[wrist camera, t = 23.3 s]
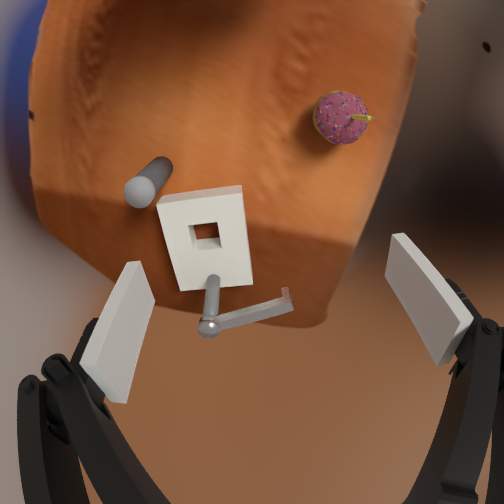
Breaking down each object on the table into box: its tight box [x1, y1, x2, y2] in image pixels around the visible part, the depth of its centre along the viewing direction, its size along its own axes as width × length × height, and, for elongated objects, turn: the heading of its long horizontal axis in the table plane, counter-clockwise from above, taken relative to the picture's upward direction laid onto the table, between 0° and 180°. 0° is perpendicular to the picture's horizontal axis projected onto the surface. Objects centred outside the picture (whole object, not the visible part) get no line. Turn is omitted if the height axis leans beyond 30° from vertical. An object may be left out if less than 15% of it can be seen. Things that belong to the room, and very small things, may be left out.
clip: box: [198, 286, 294, 338], centre depth 43 cm, size 15×3×4 cm, turn 110°
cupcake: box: [313, 91, 374, 145], centre depth 36 cm, size 9×8×12 cm
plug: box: [124, 157, 173, 208], centre depth 40 cm, size 4×4×12 cm
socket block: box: [156, 185, 253, 316], centre depth 46 cm, size 18×14×15 cm
